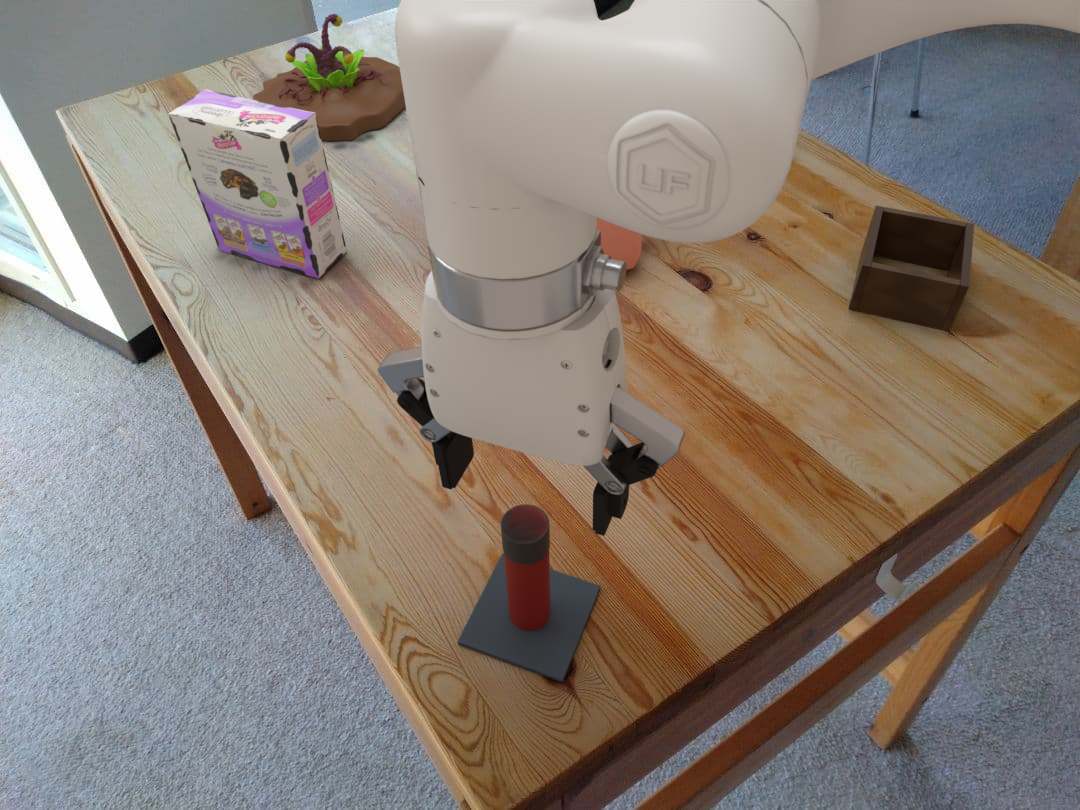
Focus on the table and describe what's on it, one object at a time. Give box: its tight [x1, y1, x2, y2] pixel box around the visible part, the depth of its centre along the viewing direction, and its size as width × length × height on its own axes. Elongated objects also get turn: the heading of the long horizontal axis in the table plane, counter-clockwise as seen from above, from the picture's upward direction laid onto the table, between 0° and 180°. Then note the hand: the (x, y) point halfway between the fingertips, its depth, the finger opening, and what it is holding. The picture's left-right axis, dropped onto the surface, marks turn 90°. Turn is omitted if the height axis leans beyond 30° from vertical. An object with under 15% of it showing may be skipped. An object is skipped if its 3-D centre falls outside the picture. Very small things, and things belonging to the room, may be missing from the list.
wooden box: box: [848, 205, 975, 332], centre depth 85 cm, size 10×11×6 cm
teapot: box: [596, 218, 643, 271], centre depth 89 cm, size 12×18×10 cm, turn 104°
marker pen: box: [500, 503, 551, 631], centre depth 58 cm, size 3×3×11 cm
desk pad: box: [457, 552, 601, 683], centre depth 62 cm, size 8×8×1 cm
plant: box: [252, 13, 406, 142], centre depth 113 cm, size 20×20×11 cm
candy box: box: [168, 88, 348, 279], centre depth 87 cm, size 14×6×16 cm, turn 65°
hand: (531, 493), depth 51 cm, fingers open, 9 cm apart
